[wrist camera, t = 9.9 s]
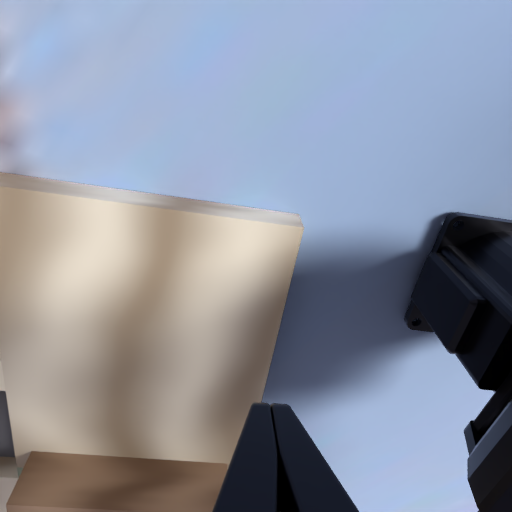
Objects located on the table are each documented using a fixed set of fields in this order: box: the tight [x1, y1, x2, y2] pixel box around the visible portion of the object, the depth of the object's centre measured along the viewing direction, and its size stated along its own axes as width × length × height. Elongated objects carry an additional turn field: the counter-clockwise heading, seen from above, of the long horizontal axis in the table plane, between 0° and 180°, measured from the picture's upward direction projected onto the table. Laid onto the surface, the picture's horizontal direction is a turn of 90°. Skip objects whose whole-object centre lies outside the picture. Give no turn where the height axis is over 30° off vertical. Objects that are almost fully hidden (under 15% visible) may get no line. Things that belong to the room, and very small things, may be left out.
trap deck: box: [0, 172, 304, 512], centre depth 22 cm, size 20×22×2 cm
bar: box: [6, 451, 227, 512], centre depth 24 cm, size 11×5×3 cm, turn 80°
